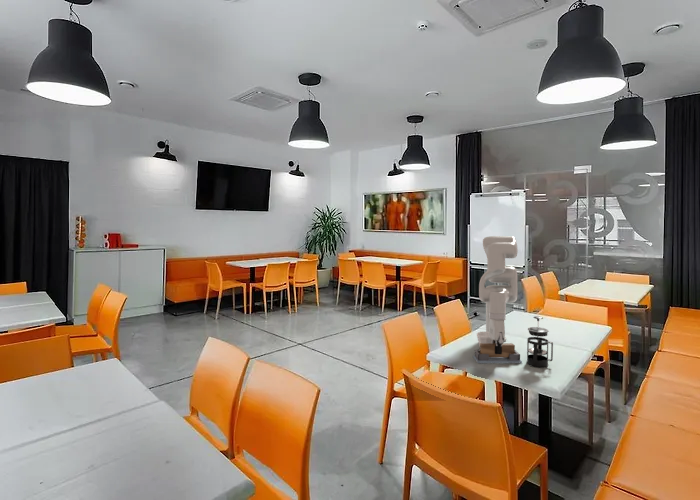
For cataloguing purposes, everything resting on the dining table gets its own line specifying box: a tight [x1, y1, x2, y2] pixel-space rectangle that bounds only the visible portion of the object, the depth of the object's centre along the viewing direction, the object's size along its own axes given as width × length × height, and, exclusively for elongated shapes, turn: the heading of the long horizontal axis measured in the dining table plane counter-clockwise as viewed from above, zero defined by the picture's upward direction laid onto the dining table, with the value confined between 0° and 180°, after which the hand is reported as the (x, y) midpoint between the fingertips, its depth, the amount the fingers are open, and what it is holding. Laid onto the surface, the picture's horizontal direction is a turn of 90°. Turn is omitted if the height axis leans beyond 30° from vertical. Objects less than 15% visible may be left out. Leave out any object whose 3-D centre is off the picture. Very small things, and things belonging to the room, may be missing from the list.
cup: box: [476, 331, 492, 347], centre depth 203 cm, size 10×10×9 cm
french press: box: [526, 315, 554, 369], centre depth 183 cm, size 12×9×23 cm
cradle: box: [472, 349, 523, 364], centre depth 191 cm, size 8×21×4 cm, turn 88°
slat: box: [479, 342, 516, 357], centre depth 190 cm, size 3×16×6 cm, turn 88°
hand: (497, 352), depth 190 cm, fingers closed on slat, 2 cm apart
